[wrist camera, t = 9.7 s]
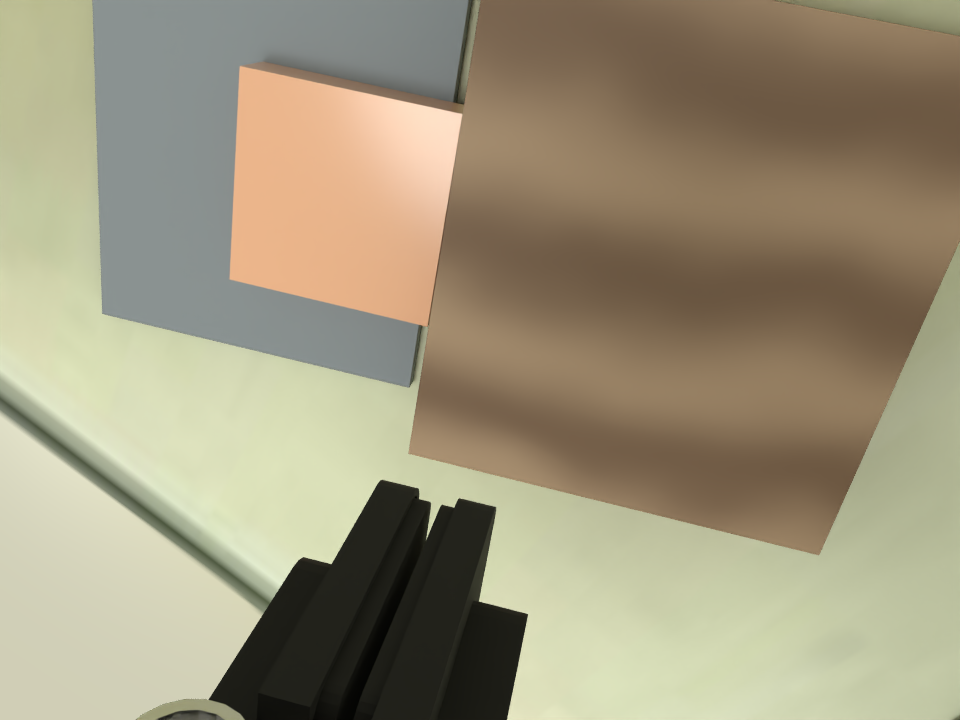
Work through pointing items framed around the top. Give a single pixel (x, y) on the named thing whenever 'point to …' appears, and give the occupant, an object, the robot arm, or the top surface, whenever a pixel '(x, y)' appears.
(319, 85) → the tile
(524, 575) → the top surface
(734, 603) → the top surface
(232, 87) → the mat
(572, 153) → the deck
